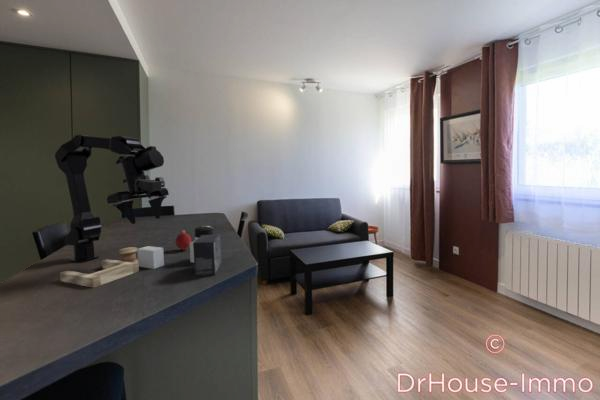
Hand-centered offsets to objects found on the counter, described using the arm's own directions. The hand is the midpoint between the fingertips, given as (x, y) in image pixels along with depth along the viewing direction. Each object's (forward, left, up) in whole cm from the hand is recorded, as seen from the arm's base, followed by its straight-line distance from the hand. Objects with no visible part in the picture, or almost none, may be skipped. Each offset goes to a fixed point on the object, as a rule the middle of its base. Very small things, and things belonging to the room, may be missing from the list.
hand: (146, 221), depth 95 cm
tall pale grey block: (0, 0, -15) cm, 15 cm away
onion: (-4, +19, -15) cm, 25 cm away
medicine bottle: (+13, +11, -15) cm, 23 cm away
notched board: (-6, -12, -15) cm, 20 cm away
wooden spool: (-9, -1, -15) cm, 17 cm away
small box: (+21, +3, -15) cm, 27 cm away
